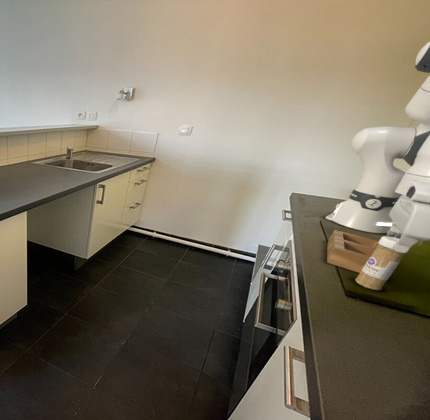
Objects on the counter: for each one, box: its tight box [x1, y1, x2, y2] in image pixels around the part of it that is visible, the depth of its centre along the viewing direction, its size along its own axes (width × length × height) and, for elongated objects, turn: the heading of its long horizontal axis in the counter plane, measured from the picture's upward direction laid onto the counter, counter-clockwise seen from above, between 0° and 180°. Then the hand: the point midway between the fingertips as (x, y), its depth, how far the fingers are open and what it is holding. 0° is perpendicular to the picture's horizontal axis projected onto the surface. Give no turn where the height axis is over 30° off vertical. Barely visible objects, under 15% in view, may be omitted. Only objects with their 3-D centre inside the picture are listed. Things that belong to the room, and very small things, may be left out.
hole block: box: [326, 229, 380, 274], centre depth 75 cm, size 20×11×5 cm, turn 133°
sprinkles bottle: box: [354, 235, 413, 291], centre depth 61 cm, size 5×5×14 cm
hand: (395, 244), depth 59 cm, fingers open, 8 cm apart
